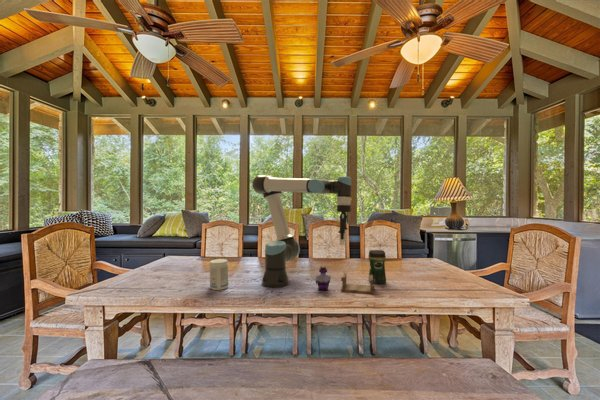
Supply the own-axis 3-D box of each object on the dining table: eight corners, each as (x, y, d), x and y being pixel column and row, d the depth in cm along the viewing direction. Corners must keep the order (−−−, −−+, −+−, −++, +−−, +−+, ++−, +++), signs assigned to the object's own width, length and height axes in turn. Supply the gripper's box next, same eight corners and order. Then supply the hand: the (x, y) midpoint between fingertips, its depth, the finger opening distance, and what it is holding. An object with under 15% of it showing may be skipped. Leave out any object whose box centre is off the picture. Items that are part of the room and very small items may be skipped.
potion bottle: (312, 287, 150) (312, 265, 150) (326, 285, 153) (326, 264, 153) (319, 292, 142) (319, 269, 142) (334, 290, 145) (334, 267, 145)
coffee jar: (383, 280, 163) (384, 249, 163) (387, 284, 155) (387, 251, 155) (367, 280, 164) (367, 248, 164) (369, 284, 156) (369, 251, 156)
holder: (340, 291, 144) (340, 277, 144) (342, 285, 154) (342, 272, 154) (375, 294, 140) (375, 280, 140) (374, 288, 149) (374, 274, 149)
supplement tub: (227, 284, 156) (227, 258, 156) (229, 289, 147) (229, 261, 147) (209, 286, 153) (209, 259, 153) (210, 291, 144) (209, 263, 144)
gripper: (349, 205, 139) (348, 247, 140) (351, 204, 164) (350, 240, 164) (334, 205, 141) (333, 246, 141) (338, 203, 165) (337, 239, 166)
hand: (342, 243), depth 153 cm, fingers open, 13 cm apart
